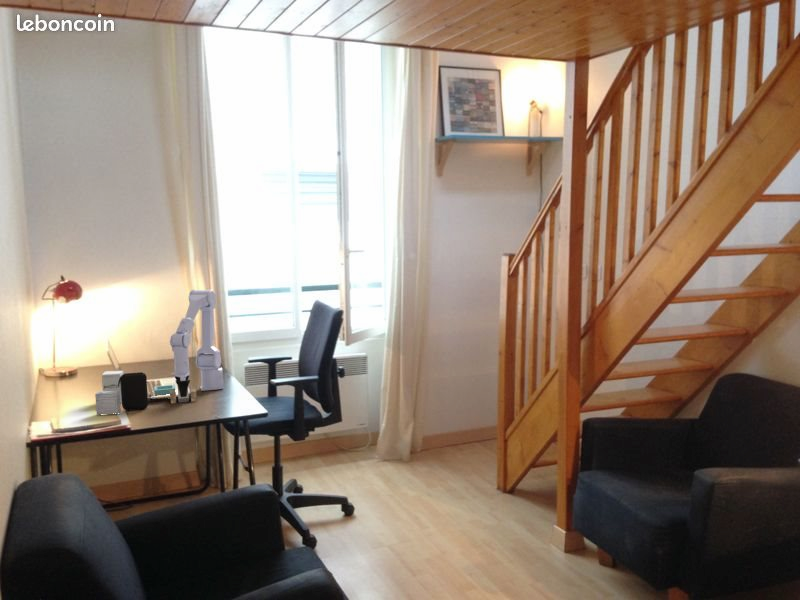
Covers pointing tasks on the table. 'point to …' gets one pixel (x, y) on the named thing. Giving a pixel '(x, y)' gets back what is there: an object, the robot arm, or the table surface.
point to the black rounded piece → (134, 391)
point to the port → (163, 389)
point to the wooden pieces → (173, 395)
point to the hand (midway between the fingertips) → (183, 394)
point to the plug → (183, 399)
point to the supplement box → (112, 381)
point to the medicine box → (108, 402)
